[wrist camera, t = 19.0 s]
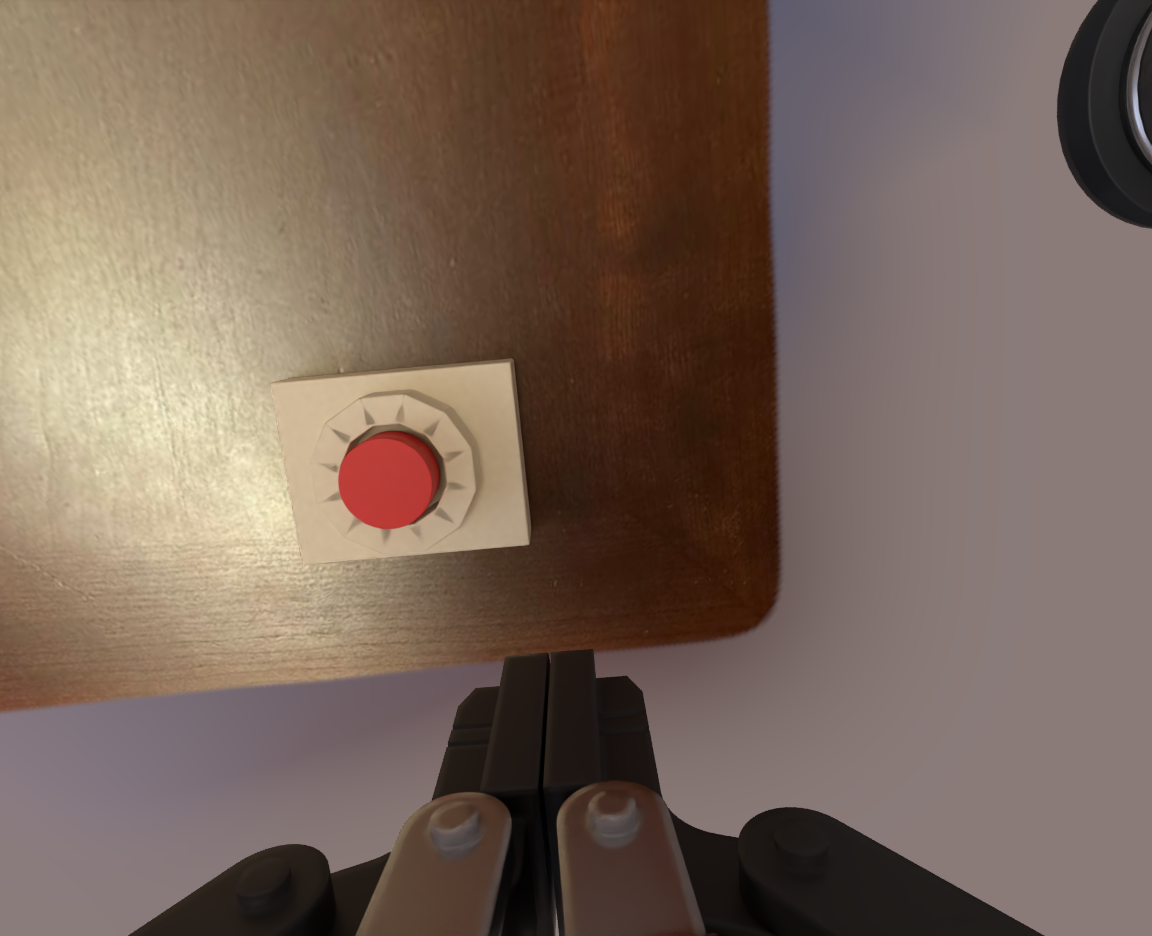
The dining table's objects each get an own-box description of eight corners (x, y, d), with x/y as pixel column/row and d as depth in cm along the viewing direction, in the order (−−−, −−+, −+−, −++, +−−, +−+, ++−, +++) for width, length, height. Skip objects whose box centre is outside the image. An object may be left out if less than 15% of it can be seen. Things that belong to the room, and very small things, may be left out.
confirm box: (318, 549, 33) (286, 581, 29) (288, 378, 31) (250, 387, 28) (531, 530, 33) (528, 559, 29) (513, 358, 32) (507, 364, 28)
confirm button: (358, 520, 29) (345, 533, 28) (344, 434, 28) (330, 442, 27) (445, 512, 29) (438, 525, 28) (434, 426, 28) (426, 433, 27)
